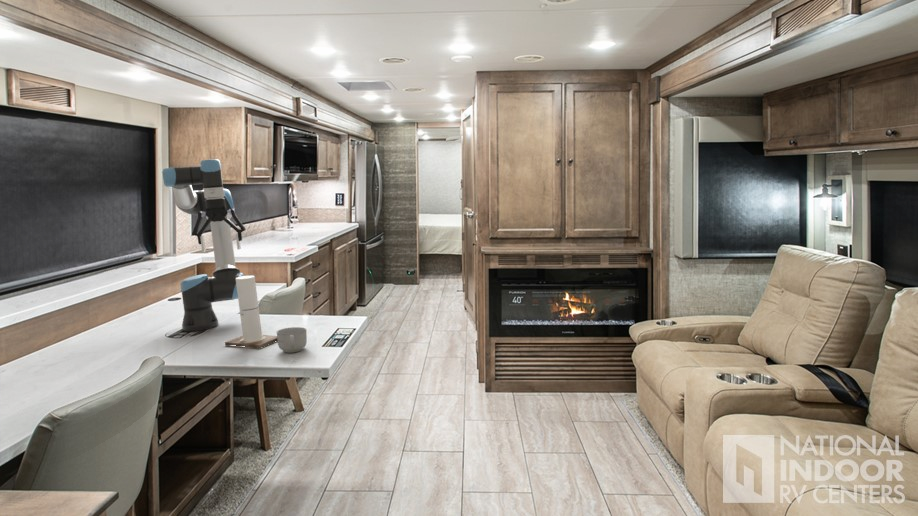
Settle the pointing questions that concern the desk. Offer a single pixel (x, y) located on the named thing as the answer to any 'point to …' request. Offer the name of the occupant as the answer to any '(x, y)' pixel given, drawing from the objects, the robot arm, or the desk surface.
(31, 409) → the desk surface
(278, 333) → the teacup
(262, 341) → the board
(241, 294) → the cylindrical container
